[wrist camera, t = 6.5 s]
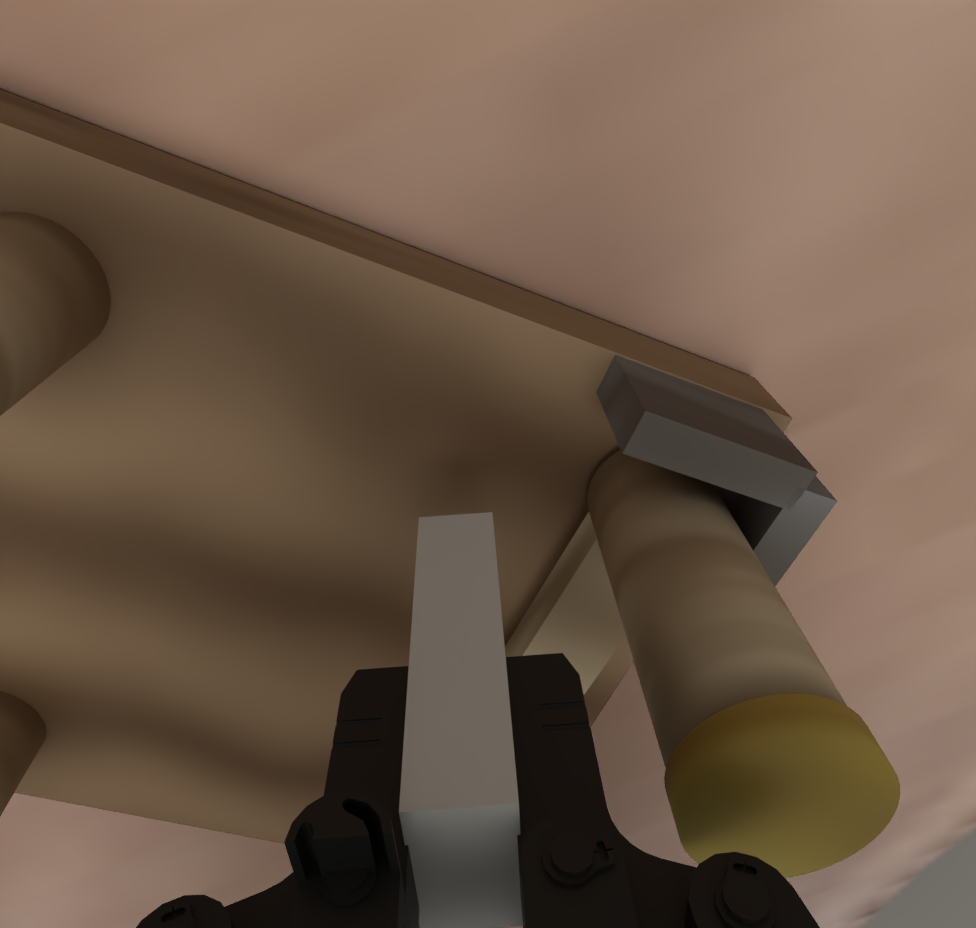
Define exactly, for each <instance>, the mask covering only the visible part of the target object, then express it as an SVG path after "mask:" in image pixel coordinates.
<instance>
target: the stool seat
mask: <svg viewBox="0 0 976 928" xmlns="http://www.w3.org/2000/svg"><path fill="white" fill-rule="evenodd" d="M791 420H792V418H791V417H790V415H789V414H788V413H787V412H786V411H785V410H784V409H783V408H782V407H781V406H780V405H779V404H778V403H777V401H776V400H775V399H774V398H773V397H772V396H771V395H770V394H769V393H768V392H767V391H766V390H765V389H764V387H763V386H762V385H761V384H760V383H759V382H758V381H757V380H756V379H755V378H753V377H750V376H748V375H745V374H742V373H740V372H737V371H735V370H732V369H729V368H727V367H724V366H722V365H719V364H716V363H714V362H711V361H709V360H706V359H703V358H701V357H698V356H695V355H693V354H690V353H688V352H685V351H682V350H680V349H677V348H675V347H672V346H669V345H667V344H664V343H661V342H659V341H656V340H654V339H651V338H648V337H646V336H643V335H641V334H638V333H635V332H633V331H630V330H628V329H625V328H622V327H620V326H617V325H614V324H612V323H609V322H607V321H604V320H601V319H599V318H596V317H594V316H591V315H588V314H586V313H583V312H580V311H578V310H575V309H573V308H570V307H567V306H565V305H562V304H560V303H557V302H554V301H552V300H549V299H546V298H544V297H541V296H539V295H536V294H533V293H531V292H528V291H526V290H523V289H520V288H518V287H515V286H513V285H510V284H507V283H505V282H502V281H499V280H497V279H494V278H492V277H489V276H486V275H484V274H481V273H479V272H476V271H473V270H471V269H468V268H465V267H463V266H460V265H458V264H455V263H452V262H450V261H447V260H445V259H442V258H439V257H437V256H434V255H432V254H429V253H426V252H424V251H421V250H418V249H416V248H413V247H411V246H408V245H405V244H403V243H400V242H398V241H395V240H392V239H390V238H387V237H384V236H382V235H379V234H377V233H374V232H371V231H369V230H366V229H364V228H361V227H358V226H356V225H353V224H350V223H348V222H345V221H343V220H340V219H337V218H335V217H332V216H330V215H327V214H324V213H322V212H319V211H317V210H314V209H311V208H309V207H306V206H303V205H301V204H298V203H296V202H293V201H290V200H288V199H285V198H283V197H280V196H277V195H275V194H272V193H269V192H267V191H264V190H262V189H259V188H256V187H254V186H251V185H249V184H246V183H243V182H241V181H238V180H235V179H233V178H230V177H228V176H225V175H222V174H220V173H217V172H215V171H212V170H209V169H207V168H204V167H202V166H199V165H196V164H194V163H191V162H188V161H186V160H183V159H181V158H178V157H175V156H173V155H170V154H168V153H165V152H162V151H160V150H157V149H154V148H152V147H149V146H147V145H144V144H141V143H139V142H136V141H134V140H131V139H128V138H126V137H123V136H121V135H118V134H115V133H113V132H110V131H107V130H105V129H102V128H100V127H97V126H94V125H92V124H89V123H87V122H84V121H81V120H79V119H76V118H73V117H71V116H68V115H66V114H63V113H60V112H58V111H55V110H53V109H50V108H47V107H45V106H42V105H39V104H37V103H34V102H32V101H29V100H26V99H24V98H21V97H19V96H16V95H13V94H11V93H8V92H6V91H3V90H0V816H1V814H2V812H3V811H4V809H5V807H6V806H7V804H8V802H9V800H10V799H11V797H12V795H13V794H14V793H19V794H24V795H30V796H35V797H40V798H46V799H51V800H56V801H62V802H67V803H72V804H77V805H83V806H88V807H93V808H99V809H104V810H109V811H115V812H120V813H125V814H130V815H136V816H141V817H146V818H152V819H157V820H162V821H168V822H173V823H178V824H183V825H189V826H194V827H199V828H205V829H210V830H215V831H221V832H226V833H231V834H236V835H242V836H247V837H252V838H258V839H263V840H268V841H274V842H279V843H284V841H285V839H286V836H287V834H288V831H289V829H290V827H291V824H292V822H293V821H294V820H295V819H296V817H297V816H298V815H299V814H300V813H301V812H302V811H303V809H304V808H305V807H306V806H307V805H309V804H311V803H312V802H314V801H316V800H317V799H319V798H320V797H322V796H324V790H325V784H326V778H327V772H328V767H329V761H330V755H331V749H332V748H333V737H334V731H335V726H336V724H337V722H336V720H337V714H338V708H339V702H340V696H341V693H342V691H343V690H344V688H345V687H346V685H347V684H348V682H349V681H350V679H351V678H352V676H353V675H354V673H355V672H356V670H359V669H373V668H386V667H400V666H409V655H410V640H411V625H412V610H413V596H414V581H415V566H416V551H417V536H418V522H419V517H431V516H445V515H459V514H473V513H488V512H492V513H493V524H494V535H495V546H496V557H497V568H498V579H499V590H500V601H501V612H502V623H503V634H504V645H505V646H506V644H507V642H508V641H509V639H510V638H511V636H512V634H513V633H514V631H515V630H516V628H517V626H518V625H519V623H520V621H521V620H522V618H523V617H524V615H525V613H526V612H527V610H528V609H529V607H530V605H531V604H532V602H533V601H534V599H535V597H536V596H537V594H538V592H539V591H540V589H541V588H542V586H543V584H544V583H545V581H546V580H547V578H548V576H549V575H550V573H551V571H552V570H553V568H554V567H555V565H556V563H557V562H558V560H559V559H560V557H561V555H562V554H563V552H564V550H565V549H566V547H567V546H568V544H569V542H570V541H571V539H572V538H573V536H574V534H575V533H576V531H577V530H578V528H579V526H580V525H581V523H582V521H583V520H584V518H585V517H586V515H587V513H588V512H589V510H588V505H587V493H588V488H589V485H590V482H591V479H592V478H593V476H594V474H595V472H596V471H597V469H598V468H599V467H600V466H601V465H602V463H603V462H604V461H605V460H607V459H608V458H609V457H610V456H612V455H613V454H614V453H616V452H618V451H619V450H621V452H622V454H625V455H628V456H631V457H634V458H637V459H640V460H643V461H646V462H649V463H652V464H654V465H657V466H660V467H663V468H666V469H669V470H672V471H675V472H678V473H681V474H684V475H687V476H690V477H693V478H696V479H699V480H701V481H704V482H707V483H710V484H713V485H714V487H715V489H716V490H717V492H718V493H719V495H720V497H721V498H722V500H723V502H724V503H725V505H726V507H727V508H728V510H729V512H730V513H731V515H732V517H733V518H734V520H735V522H736V523H737V525H738V527H739V528H740V530H741V532H742V533H743V535H744V536H745V538H746V540H747V541H748V543H749V545H750V546H751V548H752V550H753V551H754V553H755V555H756V556H757V558H758V560H759V561H760V563H761V565H762V566H763V568H764V570H765V571H766V573H767V575H768V576H769V578H770V579H771V581H772V583H773V584H774V586H776V584H777V583H778V582H779V580H780V579H781V578H782V576H783V575H784V573H785V572H786V571H787V569H788V568H789V567H790V565H791V564H792V563H793V561H794V560H795V558H796V557H797V556H798V554H799V553H800V552H801V550H802V549H803V547H804V546H805V545H806V543H807V542H808V541H809V539H810V538H811V536H812V535H813V534H814V532H815V531H816V530H817V528H818V527H819V526H820V524H821V523H822V521H823V520H824V519H825V517H826V516H827V515H828V513H829V512H830V510H831V509H832V508H833V506H834V505H835V504H836V502H837V500H836V499H835V498H834V497H833V496H832V494H831V493H830V492H829V491H828V490H827V489H826V487H825V486H824V485H823V484H822V483H821V482H820V480H819V479H818V478H817V477H816V474H817V473H818V472H817V471H816V470H815V469H814V468H813V466H812V465H811V464H810V463H809V462H808V461H807V459H806V458H805V457H804V456H803V455H802V454H801V453H800V451H799V450H798V449H797V448H796V447H795V446H794V445H793V443H792V442H791V441H790V440H789V439H788V438H787V436H786V435H785V434H784V433H783V432H784V430H785V429H786V427H787V426H788V424H789V423H790V421H791ZM633 661H634V660H633V657H632V654H631V650H630V647H629V643H628V640H627V637H625V638H624V640H623V641H622V642H621V644H620V645H619V647H618V648H617V649H616V651H615V652H614V654H613V655H612V656H611V658H610V659H609V661H608V662H607V663H606V665H605V666H604V668H603V669H602V670H601V672H600V673H599V675H598V676H597V677H596V679H595V680H594V682H593V683H592V684H591V686H590V687H589V689H588V690H587V691H586V693H585V694H584V699H585V706H586V709H587V714H588V719H589V726H590V727H591V726H592V724H593V722H594V721H595V719H596V718H597V716H598V715H599V713H600V712H601V710H602V709H603V707H604V706H605V704H606V703H607V701H608V700H609V698H610V696H611V695H612V693H613V692H614V690H615V689H616V687H617V686H618V684H619V683H620V681H621V680H622V678H623V677H624V675H625V674H626V672H627V670H628V669H629V667H630V666H631V664H632V663H633ZM284 844H285V843H284ZM419 928H420V926H419Z"/></svg>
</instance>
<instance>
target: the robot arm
mask: <svg viewBox="0 0 976 928" xmlns="http://www.w3.org/2000/svg"><path fill="white" fill-rule="evenodd" d="M336 722H337V724H336V726H335V731H334V737H333V748H332V749H331V755H330V761H329V767H328V772H327V778H326V784H325V790H324V796H322V797H320V798H319V799H317V800H316V801H314V802H312V803H311V804H309V805H307V806H306V807H305V808H304V809H303V811H302V812H301V813H300V814H299V815H298V816H297V817H296V819H295V820H294V821H293V822H292V824H291V827H290V829H289V831H288V834H287V836H286V839H285V841H284V843H285V846H286V849H287V852H288V855H289V858H290V862H291V865H292V868H293V871H294V872H293V873H292V874H290V875H289V876H288V877H287V878H285V879H284V880H283V881H282V882H280V883H278V884H276V885H274V886H273V887H271V888H269V889H267V890H265V891H263V892H260V893H258V894H255V895H253V896H250V897H248V898H245V899H243V900H241V901H238V902H236V903H233V904H231V905H228V906H226V907H224V906H223V905H222V904H221V902H219V901H217V900H215V899H212V898H210V897H208V896H206V895H187V896H182V897H179V898H177V899H174V900H172V901H169V902H167V903H164V904H162V905H161V906H160V907H158V908H157V909H156V910H154V911H153V912H152V913H150V914H149V915H148V916H147V917H145V918H144V919H143V920H142V921H141V922H140V923H139V925H138V926H137V927H136V928H419V926H420V928H493V927H506V926H519V925H523V928H820V927H819V926H818V924H817V923H816V921H815V920H814V918H813V917H812V915H811V914H810V912H809V911H808V909H807V908H806V906H805V905H804V903H803V902H802V900H801V899H800V897H799V896H798V894H797V893H796V891H795V889H794V888H793V887H792V886H791V884H790V883H789V882H788V881H787V880H786V879H785V878H784V877H783V876H782V875H781V873H780V872H779V871H778V870H777V869H776V868H774V867H772V866H771V865H769V864H767V863H766V862H764V861H762V860H761V859H759V858H757V857H755V856H751V855H747V854H743V853H739V852H728V853H719V854H714V855H713V856H711V857H709V858H708V859H706V860H704V861H703V862H701V863H700V864H699V865H698V867H697V868H696V867H692V866H688V865H684V864H680V863H676V862H673V861H669V860H665V859H661V858H658V857H655V856H653V855H650V854H647V853H645V852H643V851H642V850H640V849H638V848H637V847H635V846H634V845H632V844H631V843H630V842H629V841H628V840H627V839H626V838H625V837H624V836H623V835H621V834H620V833H619V831H618V829H617V828H616V826H615V825H614V823H613V822H612V820H611V818H610V815H609V812H608V809H607V806H606V801H605V796H604V791H603V787H602V782H601V777H600V772H599V767H598V762H597V757H596V753H595V748H594V743H593V738H592V733H591V728H590V726H589V719H588V714H587V709H586V706H585V699H584V694H583V690H582V685H581V680H580V675H579V673H578V672H577V671H576V670H575V668H574V667H573V666H572V664H571V663H570V662H569V661H568V659H567V658H566V657H565V655H564V654H563V653H555V654H541V655H527V656H513V657H506V656H505V645H504V634H503V623H502V612H501V601H500V590H499V579H498V568H497V557H496V546H495V535H494V524H493V513H492V512H488V513H473V514H459V515H445V516H431V517H419V522H418V536H417V551H416V566H415V581H414V596H413V610H412V625H411V640H410V655H409V666H400V667H386V668H373V669H359V670H356V672H355V673H354V675H353V676H352V678H351V679H350V681H349V682H348V684H347V685H346V687H345V688H344V690H343V691H342V693H341V696H340V702H339V708H338V714H337V720H336Z"/></svg>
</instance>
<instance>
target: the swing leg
mask: <svg viewBox="0 0 976 928" xmlns="http://www.w3.org/2000/svg"><path fill="white" fill-rule="evenodd" d="M587 505H588V510H589V512H588V513H587V515H586V517H585V518H584V520H583V521H582V523H581V525H580V526H579V528H578V530H577V531H576V533H575V534H574V536H573V538H572V539H571V541H570V542H569V544H568V546H567V547H566V549H565V550H564V552H563V554H562V555H561V557H560V559H559V560H558V562H557V563H556V565H555V567H554V568H553V570H552V571H551V573H550V575H549V576H548V578H547V580H546V581H545V583H544V584H543V586H542V588H541V589H540V591H539V592H538V594H537V596H536V597H535V599H534V601H533V602H532V604H531V605H530V607H529V609H528V610H527V612H526V613H525V615H524V617H523V618H522V620H521V621H520V623H519V625H518V626H517V628H516V630H515V631H514V633H513V634H512V636H511V638H510V639H509V641H508V642H507V644H506V646H505V656H506V657H513V656H527V655H541V654H555V653H563V654H564V655H565V657H566V658H567V659H568V661H569V662H570V663H571V664H572V666H573V667H574V668H575V670H576V671H577V672H578V673H579V675H580V680H581V685H582V690H583V694H585V693H586V691H587V690H588V689H589V687H590V686H591V684H592V683H593V682H594V680H595V679H596V677H597V676H598V675H599V673H600V672H601V670H602V669H603V668H604V666H605V665H606V663H607V662H608V661H609V659H610V658H611V656H612V655H613V654H614V652H615V651H616V649H617V648H618V647H619V645H620V644H621V642H622V641H623V640H624V638H625V637H627V640H628V643H629V647H630V650H631V654H632V657H633V660H634V664H635V667H636V670H637V674H638V677H639V680H640V684H641V687H642V690H643V694H644V697H645V700H646V704H647V707H648V710H649V714H650V717H651V720H652V724H653V727H654V730H655V734H656V737H657V740H658V744H659V747H660V750H661V754H662V757H663V760H664V764H665V767H666V770H665V777H664V780H665V789H666V792H667V796H668V799H669V803H670V806H671V810H672V813H673V817H674V820H675V823H676V827H677V830H678V834H679V837H680V841H681V843H682V845H683V847H684V849H685V851H686V852H687V853H688V854H689V856H690V857H691V858H692V859H694V860H695V861H696V862H697V863H698V864H700V863H701V862H703V861H704V860H706V859H708V858H709V857H711V856H713V855H714V854H719V853H728V852H739V853H743V854H747V855H751V856H755V857H757V858H759V859H761V860H762V861H764V862H766V863H767V864H769V865H771V866H772V867H774V868H776V869H777V870H778V871H779V872H780V873H781V875H782V876H783V877H784V878H787V877H793V876H798V875H803V874H806V873H810V872H813V871H817V870H820V869H822V868H825V867H828V866H830V865H833V864H835V863H837V862H839V861H842V860H843V859H845V858H847V857H849V856H851V855H853V854H854V853H856V852H857V851H859V850H860V849H862V848H863V847H865V846H866V845H867V844H868V843H870V842H871V841H872V840H873V839H875V838H876V837H877V836H878V835H879V834H880V833H881V832H882V831H883V829H884V828H885V827H886V826H887V824H888V823H889V822H890V820H891V818H892V817H893V815H894V813H895V811H896V808H897V806H898V803H899V798H900V784H899V780H898V776H897V774H896V773H895V771H894V769H893V767H892V765H891V764H890V762H889V761H888V759H887V757H886V756H885V754H884V752H883V751H882V749H881V748H880V746H879V744H878V743H877V741H876V739H875V738H874V736H873V735H872V733H871V731H870V730H869V728H868V726H867V725H866V723H865V722H864V721H863V719H862V718H861V717H860V716H859V715H858V714H857V713H856V712H855V711H853V710H852V709H851V708H849V707H847V705H846V704H845V702H844V700H843V699H842V697H841V695H840V694H839V692H838V690H837V689H836V687H835V685H834V684H833V682H832V680H831V679H830V677H829V675H828V674H827V672H826V670H825V669H824V667H823V665H822V664H821V662H820V661H819V659H818V657H817V656H816V654H815V652H814V651H813V649H812V647H811V646H810V644H809V642H808V641H807V639H806V637H805V636H804V634H803V632H802V631H801V629H800V627H799V626H798V624H797V622H796V621H795V619H794V618H793V616H792V614H791V613H790V611H789V609H788V608H787V606H786V604H785V603H784V601H783V599H782V598H781V596H780V594H779V593H778V591H777V589H776V588H775V586H774V584H773V583H772V581H771V579H770V578H769V576H768V575H767V573H766V571H765V570H764V568H763V566H762V565H761V563H760V561H759V560H758V558H757V556H756V555H755V553H754V551H753V550H752V548H751V546H750V545H749V543H748V541H747V540H746V538H745V536H744V535H743V533H742V532H741V530H740V528H739V527H738V525H737V523H736V522H735V520H734V518H733V517H732V515H731V513H730V512H729V510H728V508H727V507H726V505H725V503H724V502H723V500H722V498H721V497H720V495H719V493H718V492H717V490H716V489H715V487H714V485H713V484H710V483H707V482H704V481H701V480H699V479H696V478H693V477H690V476H687V475H684V474H681V473H678V472H675V471H672V470H669V469H666V468H663V467H660V466H657V465H654V464H652V463H649V462H646V461H643V460H640V459H637V458H634V457H631V456H628V455H625V454H622V452H621V450H619V451H618V452H616V453H614V454H613V455H612V456H610V457H609V458H608V459H607V460H605V461H604V462H603V463H602V465H601V466H600V467H599V468H598V469H597V471H596V472H595V474H594V476H593V478H592V479H591V482H590V485H589V488H588V493H587Z"/></svg>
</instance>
